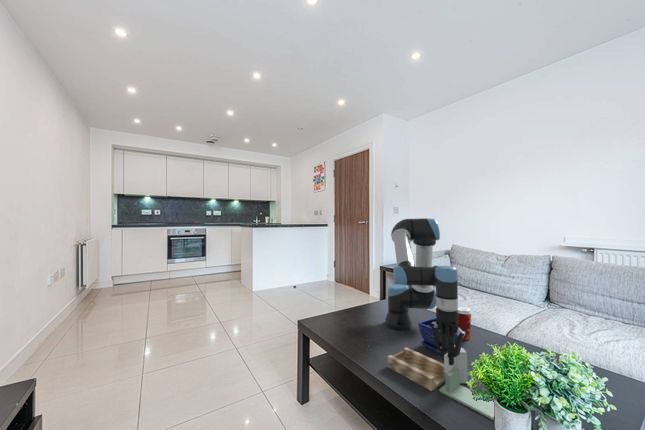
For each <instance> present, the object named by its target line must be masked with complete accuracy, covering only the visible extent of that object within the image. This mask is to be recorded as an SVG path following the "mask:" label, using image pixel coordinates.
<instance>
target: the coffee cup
mask: <svg viewBox="0 0 645 430" xmlns="http://www.w3.org/2000/svg"><path fill="white" fill-rule="evenodd" d="M457 310H458V324H459V326H460V329H461V330H462V331H465V332H466V335H465V336H464V338H463V341H469V340H471V327H472V326H471V325H472V314H473V313H472V310H471V308H469V307H465V306H458V309H457ZM457 337H458V335H457Z"/></svg>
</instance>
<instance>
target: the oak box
mask: <svg viewBox="0 0 645 430" xmlns="http://www.w3.org/2000/svg"><path fill="white" fill-rule="evenodd" d="M387 367H388V369H390V370H392V371H395V373H398V374H400V375H402V376H404V377H405V378H406V379H409V380H410V381H412V382H415V383H416V384H417V385H419V386H421V387H423V388H425V389H427V390H429V391H430V392H432V391H434V390H435V389H437V388H438V387H440V386H441V385H442V384H443V383H445V374H446V373H444V362H440V361H439V360H437V359H434V358H431V357H429V356H427V355H424V354H423V353H421V352H418V351H416V350H414V349H412V348H409V347H404V348H403V350H400V351H399V352H397V353H394V354H393V355H392V354H389V355H387Z"/></svg>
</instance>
